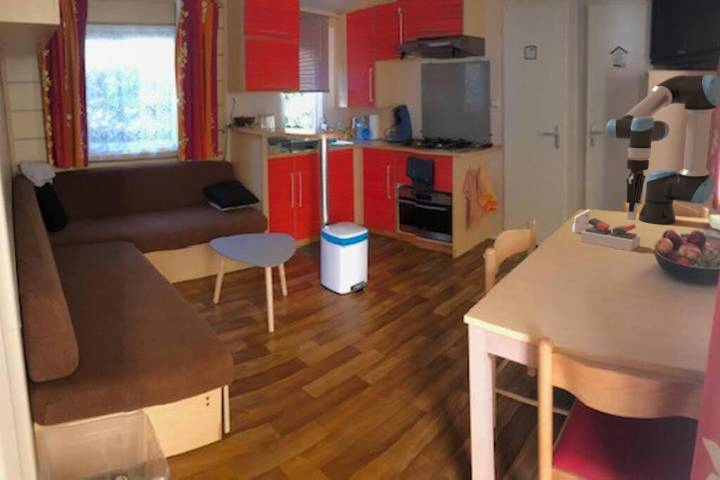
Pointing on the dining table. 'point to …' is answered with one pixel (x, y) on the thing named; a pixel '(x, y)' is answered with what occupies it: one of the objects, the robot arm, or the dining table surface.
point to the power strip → (611, 238)
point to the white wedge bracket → (581, 222)
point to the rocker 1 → (598, 224)
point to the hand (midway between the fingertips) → (631, 219)
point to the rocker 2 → (623, 228)
